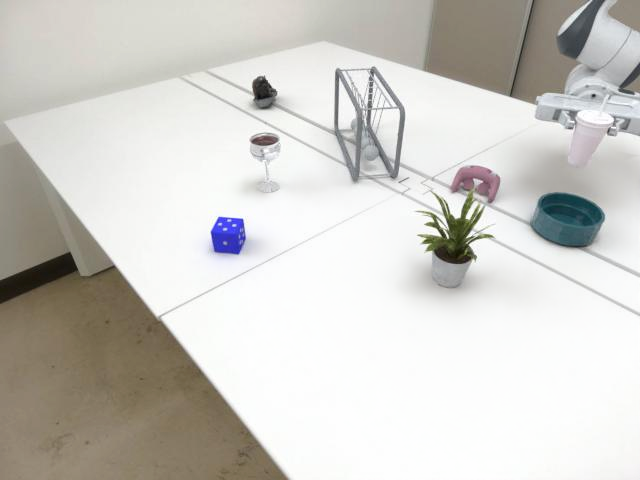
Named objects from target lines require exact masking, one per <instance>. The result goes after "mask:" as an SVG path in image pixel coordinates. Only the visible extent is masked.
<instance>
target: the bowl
mask: <svg viewBox="0 0 640 480" xmlns="http://www.w3.org/2000/svg"><path fill="white" fill-rule="evenodd" d="M605 221H606V214H605V212H604V210H603V209H602V207H600V205H598V204H597V203H595V202H594V201H592V200H590V199H589V198H586V197H584V196H581V195H578V194H574V193H569V192H563V191H562V192H561V191H560V192H559V191H556V192H555V191H554V192H547V193H545V194H543V195H541V196H540V197H539V198H538V199H537V202H536V204H535V207H534V210H533V213H532V216H531V219H530V222H531V226H532V227H533V229H534V230H535V231H536V232H537V233H538V234H539V235H540V236H542V237H544V238H545V239H546V240H549V241H552V242H553V243H557V244H560V245H564V246H570V247H571V246H573V247H580V246H587V245H590V244H591V243H594V241H595V240H596V239H597V237H598V236H599V233H600V231H601V228H602V226H603V225H604V223H605Z"/></svg>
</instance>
